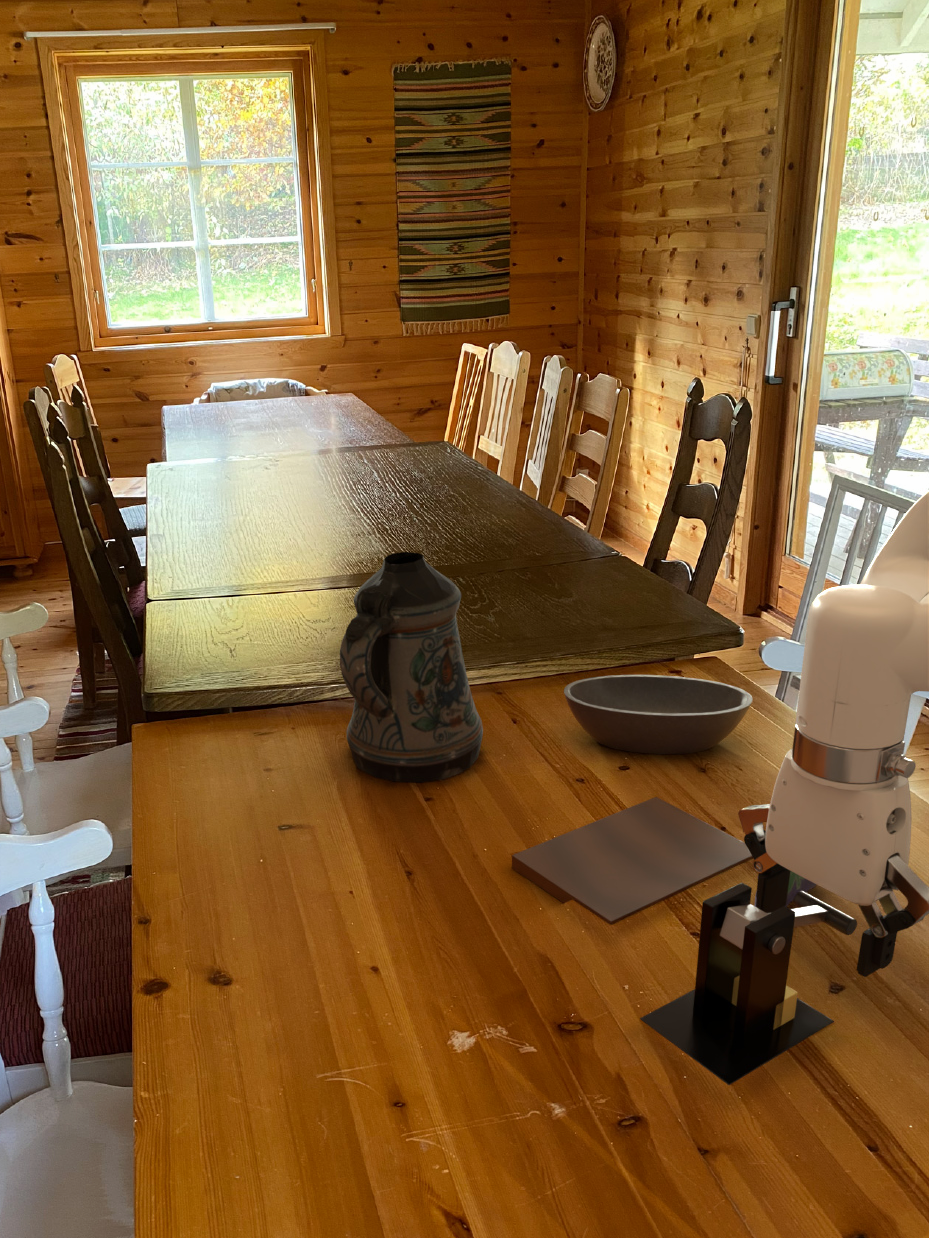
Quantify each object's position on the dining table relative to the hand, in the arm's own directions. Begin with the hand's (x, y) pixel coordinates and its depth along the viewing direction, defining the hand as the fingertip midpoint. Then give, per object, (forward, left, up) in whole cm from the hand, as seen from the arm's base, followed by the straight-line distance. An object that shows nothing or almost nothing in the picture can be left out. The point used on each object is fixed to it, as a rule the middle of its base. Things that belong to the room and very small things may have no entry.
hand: (819, 938), depth 90 cm
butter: (+7, 0, -4) cm, 8 cm away
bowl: (-24, -41, -5) cm, 48 cm away
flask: (-8, -9, -5) cm, 13 cm away
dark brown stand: (+9, 0, -5) cm, 11 cm away
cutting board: (-2, -22, -5) cm, 23 cm away
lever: (+5, 0, +3) cm, 6 cm away
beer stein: (+2, -55, -5) cm, 55 cm away
